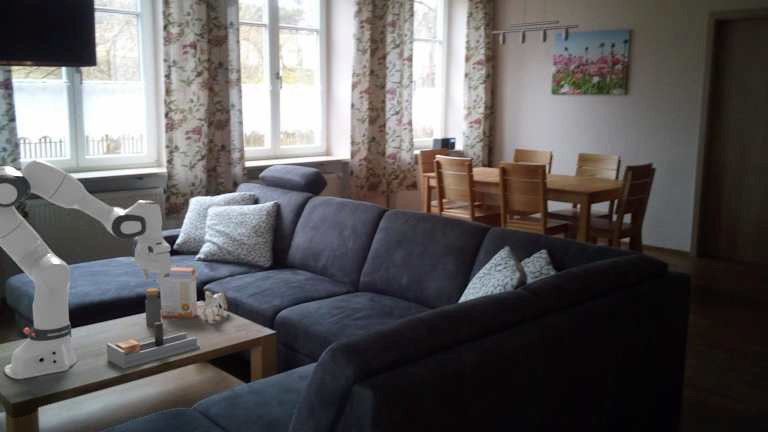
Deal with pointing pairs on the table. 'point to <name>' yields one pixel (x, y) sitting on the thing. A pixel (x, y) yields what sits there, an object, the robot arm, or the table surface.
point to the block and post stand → (134, 346)
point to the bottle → (152, 307)
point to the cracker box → (179, 293)
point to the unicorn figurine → (214, 303)
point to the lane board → (151, 350)
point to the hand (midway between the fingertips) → (153, 281)
